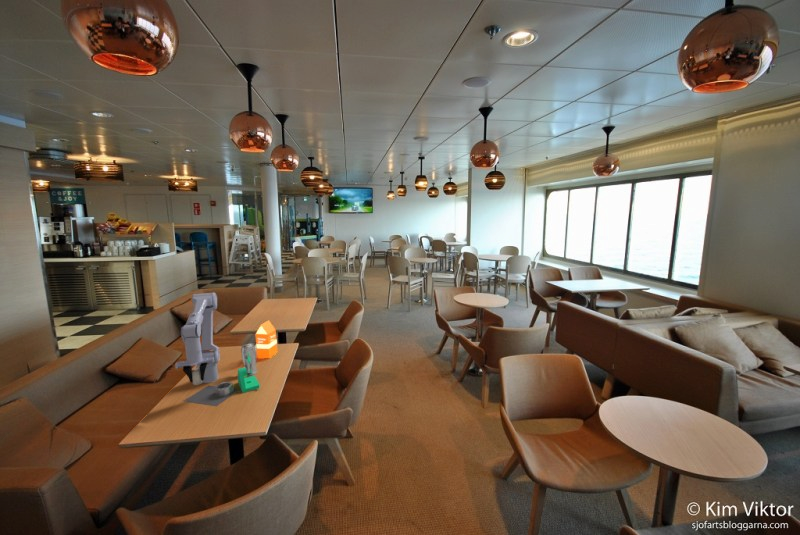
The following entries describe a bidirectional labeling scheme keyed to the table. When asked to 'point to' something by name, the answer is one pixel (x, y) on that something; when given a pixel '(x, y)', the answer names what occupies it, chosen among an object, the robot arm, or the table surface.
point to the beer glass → (249, 358)
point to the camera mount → (247, 381)
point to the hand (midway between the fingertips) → (197, 380)
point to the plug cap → (196, 376)
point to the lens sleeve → (224, 389)
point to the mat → (208, 397)
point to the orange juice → (266, 340)
